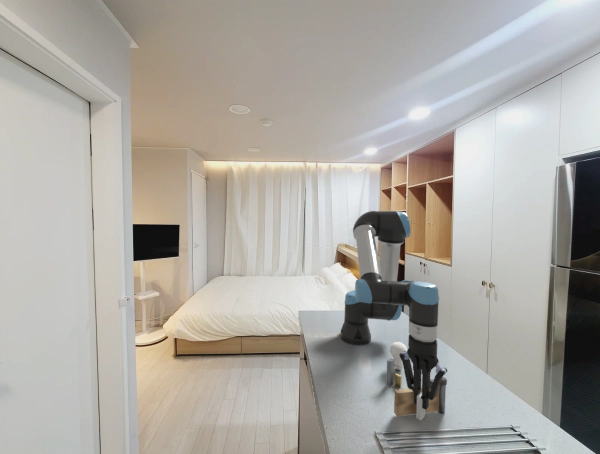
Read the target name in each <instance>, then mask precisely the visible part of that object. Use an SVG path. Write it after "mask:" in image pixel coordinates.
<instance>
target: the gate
mask: <svg viewBox="0 0 600 454" xmlns="http://www.w3.org/2000/svg"><path fill="white" fill-rule="evenodd" d="M433 381H434V378H432V379H431V378H430V390H431V387H432V384H433ZM447 383H448V379H447V378H446V377H444V376H443V377H442V380H441V383H440V384H441V385H446V386H447ZM421 389H422V386H421ZM420 392H422V390H421V391H420ZM393 402H394V403H393V413H394V415H395V416H396V417H400V416H401V417H402V416H410V415H417V405H416V404H414V392H413V391H412V390H411V389H409V388H402V389H399V390H397V389H394V400H393ZM438 411H439V389H438V392H437V395H436V397H435V398H434V399H433V400H430V399H429V407H428V408H427V409H426V410H425V414H427V413H437V412H438ZM438 413H439V412H438Z"/></svg>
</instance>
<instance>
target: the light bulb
mask: <svg viewBox="0 0 600 454" xmlns="http://www.w3.org/2000/svg"><path fill="white" fill-rule="evenodd" d="M407 347H408V346H406V345H405V344H404V343H403V342H401V341H394V342H392V343H391V345H390V346H389V351H390V356H392V357H391V358H392V359H394V360H395V363H394V370H397V371H402V370H403V362H402V360H401V358H400V355H399V354H400V353H402V352H404V351H406V352H407V350H408V348H407Z"/></svg>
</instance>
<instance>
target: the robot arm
mask: <svg viewBox="0 0 600 454" xmlns="http://www.w3.org/2000/svg"><path fill="white" fill-rule="evenodd" d="M352 235H353V238H354V239H355V240H356V251H357V260H358V261H357V262H358V272H359V278H358V279H356V280H355V283H354V284H355V285H354V290H350V291H348V292H347V293H346V294H345V298H344V316H343V317H344V318H343V319H344V321H343V323H342V325H341V326H342V327H341V328H340V333H339V334H340V339H341V340H343V341H344V342H346V343H348V344H352V345H356V346H359V345H360V346H361V345H363V346H364V345H367V344H369V343H370V342H371V341H372V334H371V330H370V327H369V319H370V320H381V321H382V320H384V321H397V320H399V319H400V317H401V315H402V311H403V306H406V307H408V314H409V315H408V341H407V342H408V346H407V347H408V348H407V352H406V351H404V352H402V353H400V354H399V355H400V358H401V360H402V362H403V365H402V368H403V370H404V371H403V372H404V376H405V382H406V386H407V389H411V390H412V391H413V392H414V404H416V405H417V414H416V415H415V417H416V419H418V420H419V421H422V420H423V419H424V418H426V413H425V410H426V409H427V408H428V407H429V399H430V400H433V399H434V398H435V397H436V395H437V392H438V389H439V386H440V383H441V380H442V377H444V376H445V375H446V373H448V369H447V367H443V366H442V365H441V364H440V361H439V358H438V338H439V337H438V334H439V333H438V332H439V331H438V329H439V327H438V326H439V325H438V324H439V301H440V297H439V288H438V286H437V285H435V284H434V283H431V282H426V281H414V280H410V279H404V280H401V281H398V274H399V263H400V262H399V261H400V255H401V254H400V253H401V245H403V244H404V243H405V239H408V238H409V237H410V235H411V221H410V217H409V215H408V214H407V213H406V212H404V211H396V210H392V211H391V210H385V211H384V210H379V211H378V210H371V211H370V210H369V211H367V212H364V213H363V214H361V215H360V216H359V217H358V218H357V220H356V221H355V223H354V225H353V228H352ZM376 237H377V240H378V242H379V243H380V251H379V254H378V251H377V246H376V245H377V244H376V240H375V238H376ZM434 368H435V376H434V378H433V379H434V381H433V384H432V387H431V390H430V379H431V372H432V370H433V369H434ZM421 387H422V389H421ZM421 390H422V392H420V391H421Z"/></svg>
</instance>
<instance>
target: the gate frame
mask: <svg viewBox="0 0 600 454" xmlns="http://www.w3.org/2000/svg"><path fill="white" fill-rule="evenodd" d="M394 364H395V360H394V359H393V357H390V358H388V359H387V361H386V383H385V384H386V386H388V387H389V388H391V387H392V388H394V390H399V389H403V388H402V375H400V374H399V373H395V367H394ZM446 390H447V385H441V384H440V386H439V411H438V413H439V414H441V415H444V414H445V412H446V410H445V409H446V392H447V391H446Z"/></svg>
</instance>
